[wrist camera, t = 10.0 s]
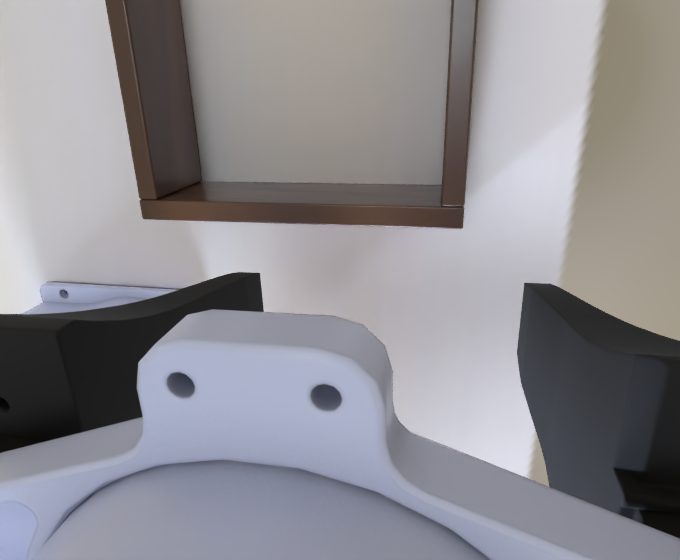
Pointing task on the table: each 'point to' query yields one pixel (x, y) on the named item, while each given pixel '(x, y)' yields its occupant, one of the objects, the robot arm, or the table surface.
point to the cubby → (267, 198)
